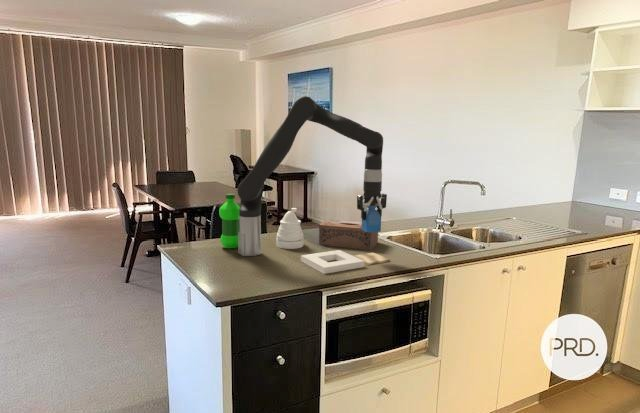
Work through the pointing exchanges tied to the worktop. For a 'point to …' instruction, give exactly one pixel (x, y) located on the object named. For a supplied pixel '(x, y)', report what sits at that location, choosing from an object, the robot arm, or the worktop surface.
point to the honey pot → (290, 232)
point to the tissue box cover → (346, 234)
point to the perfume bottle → (372, 220)
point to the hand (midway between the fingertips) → (371, 218)
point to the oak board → (372, 258)
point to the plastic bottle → (230, 222)
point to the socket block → (341, 264)
